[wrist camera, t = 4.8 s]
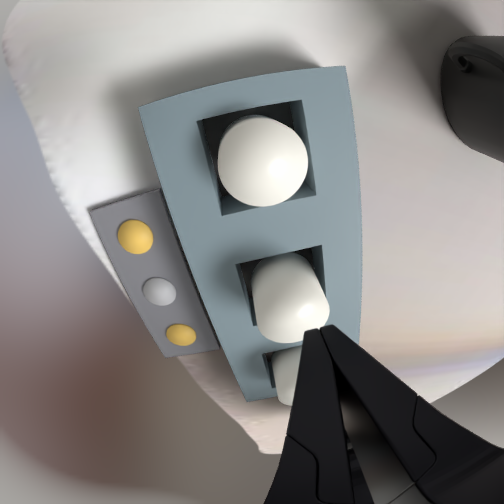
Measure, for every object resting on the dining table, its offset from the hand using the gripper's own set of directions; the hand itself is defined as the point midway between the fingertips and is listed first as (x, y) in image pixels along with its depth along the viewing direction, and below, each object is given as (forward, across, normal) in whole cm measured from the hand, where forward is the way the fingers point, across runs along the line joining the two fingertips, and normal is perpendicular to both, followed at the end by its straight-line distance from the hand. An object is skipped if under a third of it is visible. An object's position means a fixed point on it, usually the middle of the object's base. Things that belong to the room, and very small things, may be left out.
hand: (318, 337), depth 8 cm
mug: (+12, -17, -6) cm, 22 cm away
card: (+12, +9, +5) cm, 15 cm away
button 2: (+10, 0, +13) cm, 16 cm away
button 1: (+11, 0, -3) cm, 11 cm away
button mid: (+10, 0, +5) cm, 11 cm away
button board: (+12, 0, +5) cm, 13 cm away
